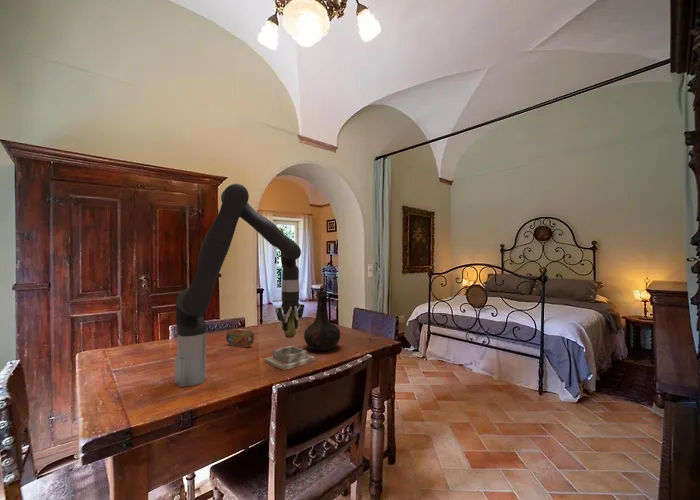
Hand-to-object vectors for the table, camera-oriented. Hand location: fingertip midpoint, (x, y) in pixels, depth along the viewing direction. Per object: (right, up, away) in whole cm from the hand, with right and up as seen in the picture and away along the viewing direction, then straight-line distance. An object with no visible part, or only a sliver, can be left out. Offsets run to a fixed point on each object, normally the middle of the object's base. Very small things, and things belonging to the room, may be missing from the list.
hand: (290, 329), depth 132 cm
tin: (-29, -14, +21) cm, 39 cm away
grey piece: (0, -14, 0) cm, 14 cm away
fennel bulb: (0, -3, 0) cm, 3 cm away
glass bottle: (+12, -14, +18) cm, 26 cm away
